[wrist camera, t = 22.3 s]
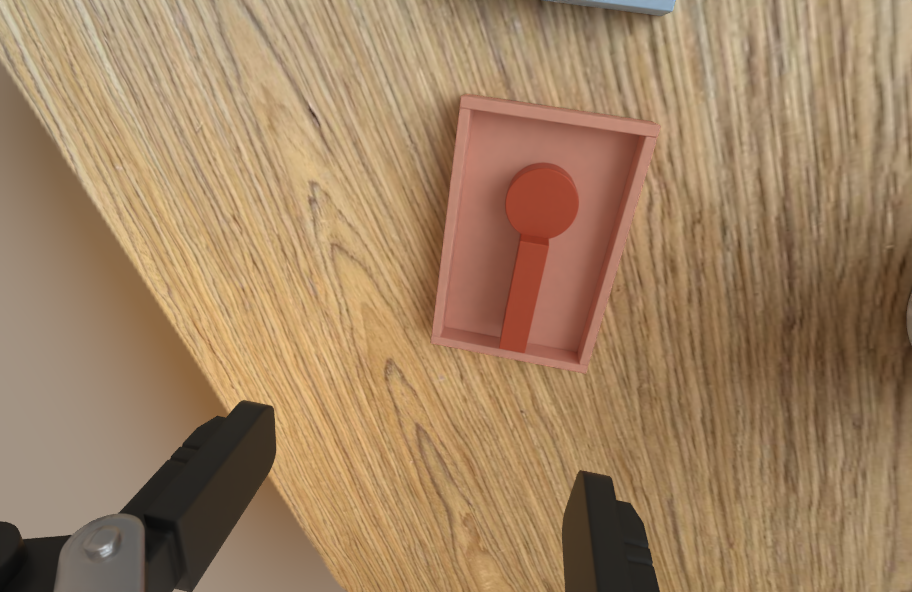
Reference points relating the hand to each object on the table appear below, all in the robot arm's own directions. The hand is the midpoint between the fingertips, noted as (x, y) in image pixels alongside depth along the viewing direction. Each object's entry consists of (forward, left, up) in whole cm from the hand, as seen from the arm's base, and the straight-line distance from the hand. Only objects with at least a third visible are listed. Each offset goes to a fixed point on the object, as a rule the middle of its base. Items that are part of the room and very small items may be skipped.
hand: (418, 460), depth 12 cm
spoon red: (+3, -1, -19) cm, 19 cm away
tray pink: (+3, 0, -19) cm, 20 cm away
